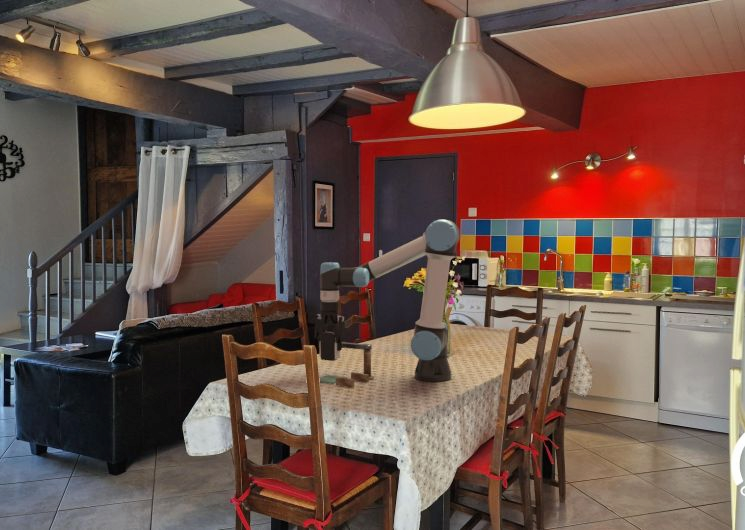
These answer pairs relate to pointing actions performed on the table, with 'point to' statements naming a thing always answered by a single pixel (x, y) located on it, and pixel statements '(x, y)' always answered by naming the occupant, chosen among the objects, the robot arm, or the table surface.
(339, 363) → the table surface
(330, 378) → the mat
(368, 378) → the cradle
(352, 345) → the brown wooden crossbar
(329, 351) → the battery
